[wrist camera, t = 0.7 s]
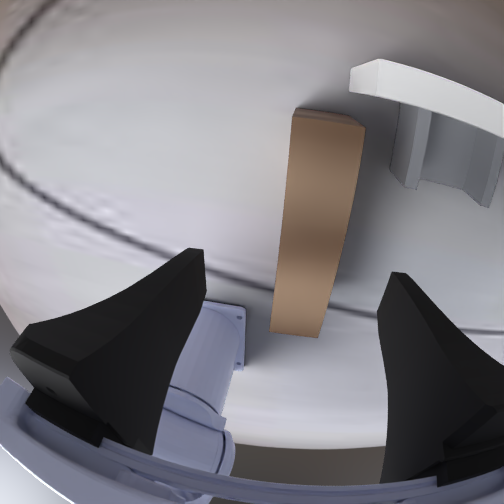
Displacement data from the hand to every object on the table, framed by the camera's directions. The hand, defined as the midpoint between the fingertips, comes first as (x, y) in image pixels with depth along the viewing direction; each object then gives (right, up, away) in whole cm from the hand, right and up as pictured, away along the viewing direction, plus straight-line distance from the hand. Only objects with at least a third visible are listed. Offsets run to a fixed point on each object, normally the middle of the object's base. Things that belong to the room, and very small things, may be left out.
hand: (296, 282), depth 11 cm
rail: (+2, +4, +8) cm, 10 cm away
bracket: (+10, +8, +4) cm, 14 cm away
